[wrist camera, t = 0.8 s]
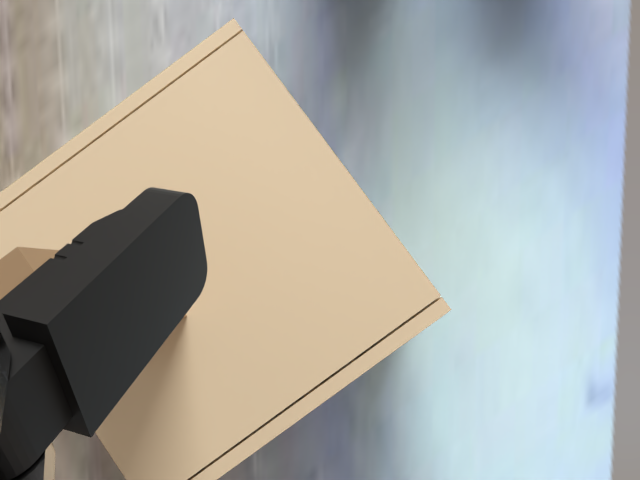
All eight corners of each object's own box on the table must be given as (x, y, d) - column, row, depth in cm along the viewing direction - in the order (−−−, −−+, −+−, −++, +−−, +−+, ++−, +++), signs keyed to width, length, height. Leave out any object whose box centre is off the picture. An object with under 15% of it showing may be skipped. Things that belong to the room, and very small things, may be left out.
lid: (-7, 228, 27) (-274, 194, 16) (245, 41, 27) (158, -133, 15) (174, 501, 26) (25, 680, 14) (442, 306, 25) (508, 331, 14)
